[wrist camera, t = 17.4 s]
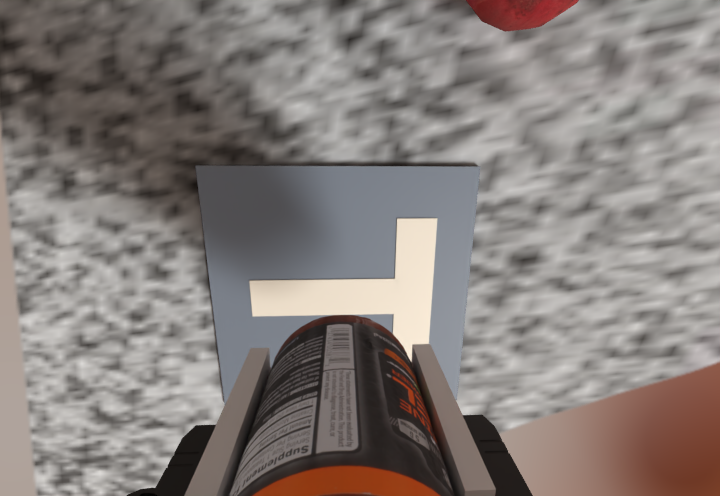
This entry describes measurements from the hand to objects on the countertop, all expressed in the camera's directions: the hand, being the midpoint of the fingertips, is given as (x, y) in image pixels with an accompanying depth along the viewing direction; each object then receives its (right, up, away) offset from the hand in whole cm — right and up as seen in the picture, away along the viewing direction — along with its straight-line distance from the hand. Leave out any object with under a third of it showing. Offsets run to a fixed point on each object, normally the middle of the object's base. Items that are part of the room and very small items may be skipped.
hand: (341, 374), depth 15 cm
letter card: (0, +2, +7) cm, 8 cm away
